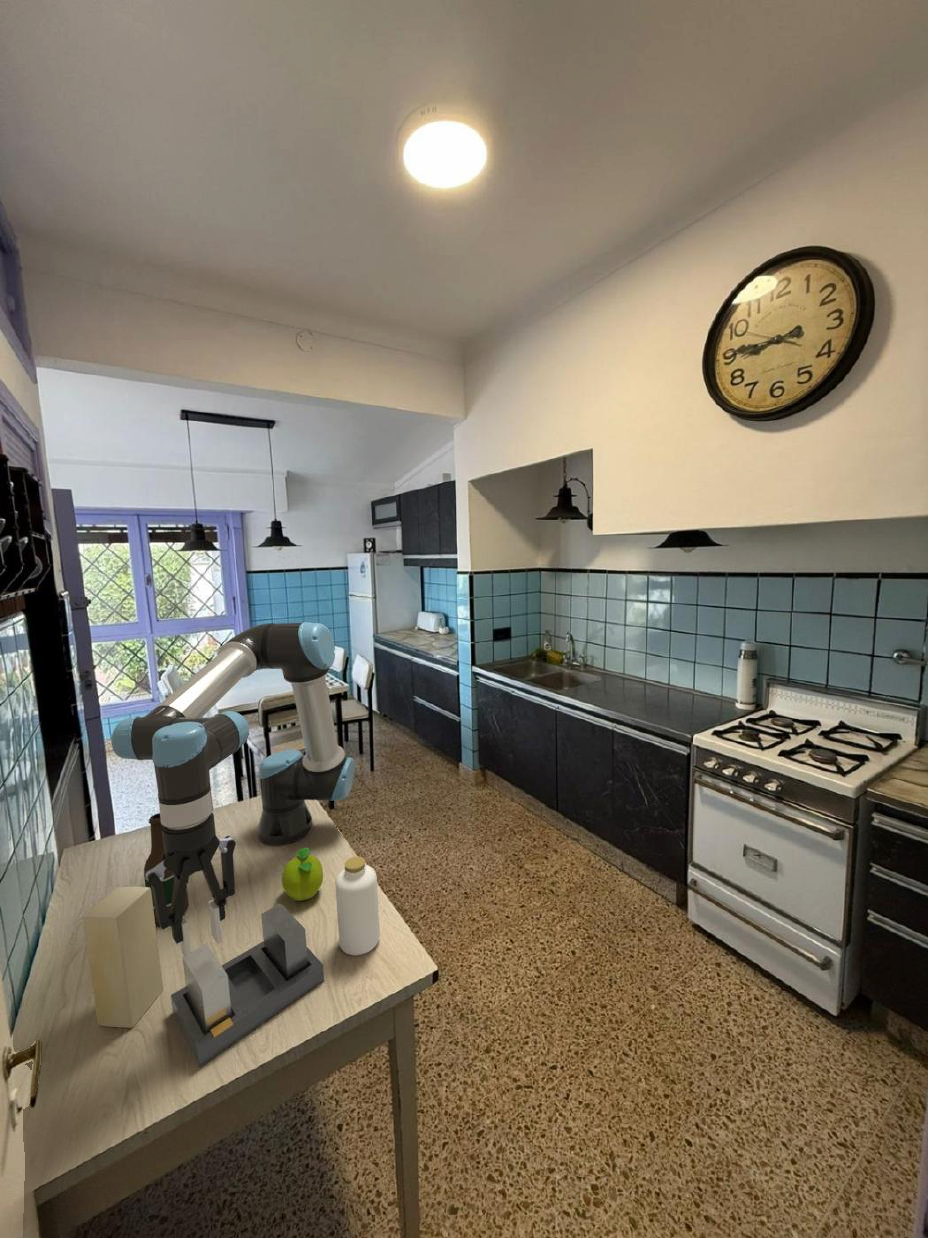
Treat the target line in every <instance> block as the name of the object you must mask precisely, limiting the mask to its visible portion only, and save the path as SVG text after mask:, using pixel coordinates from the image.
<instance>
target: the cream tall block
mask: <svg viewBox="0 0 928 1238" xmlns="http://www.w3.org/2000/svg"><path fill="white" fill-rule="evenodd" d="M82 925H83V929H84V936H85V944H86V950H87V957H88V964H89V969H90V970H89V971H90V978H91V983H92V984H91V985H92V986H91V987H92V990H93V991H92V992H93V999H94V1006H95V1012H96V1021H97V1025H98V1026H101V1027H107V1028H109V1027H110V1028H112V1027H113V1028H122V1029H123V1028H125V1029H126V1028H128V1029H132V1028H133V1027H135V1026H136V1025H137V1023H138V1022H139V1021H140V1020H141V1018H142V1017H143V1016H144V1014H145V1013H146V1012H147V1011H148V1010H149V1008H150V1007H151V1006H152V1005H153V1003H154V1002H155V1001H156V1000H157V998H158V997H159V996H160V995H161V994H162V992H163V990H164V985H163V976H162V968H161V961H160V954H159V945H158V944H159V943H158V936H157V935H158V934H157V929H156V927H157V926H156V925H155V919H154V911H153V902H152V894H151V889H150V888H149V887H145V886H128V885H127V886H116V888H114V889H113V890H112V891H111V892H110V893H108V894H107V895H105V897H104V898H102V899H101V900H100V901H99V902H97V904H95V905H94V906H92V907H91V908H90V909H89V910H88V911H87V912H85V913H84V914H83V915H82Z"/></svg>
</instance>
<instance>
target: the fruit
mask: <svg viewBox="0 0 928 1238" xmlns="http://www.w3.org/2000/svg"><path fill="white" fill-rule="evenodd" d="M281 875H282V876H281V885H282V888H283V890H284V892H285V894H287V895H288V896H289V897H290V898H291V899H293V900H295V901H298V902H300V901H301V902H302V901H306V900H309V899H311V898H313V897H314V896H315V895H316V893H317V892H318V891H319V889H321V886H322V885H323V879H324V871H323V865H322V863H321V861H320V859H318V858H317V857H316V856H314V855H311V854H310V848H309V847H303V848H300V849H298V850H297V856H296V857H294V858H293V859H291V860H289V861H288V862H287V863H286V864H285V865H284V868H283V870H282V874H281Z"/></svg>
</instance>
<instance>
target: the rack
mask: <svg viewBox="0 0 928 1238" xmlns="http://www.w3.org/2000/svg"><path fill="white" fill-rule="evenodd" d="M260 917H261V925H262V926H261V927H262V936H263V937H262V938H263V940H262V941H261V942H259V943H258V944H256V945H255V946H252V947H251V948H249V949H247V950H246V951H244V952H242V953H241V954H239V955H237V956H235V957H234V958H232V959H230V960H229V961H226V962H225V963H224V964H222V965H221V966H222V967H223V969H224V970H225V972H226V973H227V975H228V983H229V993H230V1003H231V1012H232V1018H230V1017H229V1018H228V1019H226V1020H225V1021H223V1022H222V1023H220V1024H219V1025H217V1026H216V1027H214V1028H213V1029H211V1032H209V1033H208V1034H206V1035H205V1036H204V1035H203V1033H202V1031H201V1029H200V1027H199V1025H198V1023H197V1021H196V1019H195V1017H194V1016H193V1014H192V1012H191V1010H190V1008H189V1006H188V1000H187V992H186V985H185V986H184V987H182V988H180V989H179V990H177V991H175V992H174V993H172V994H170V1000H171V1006H172V1010H171V1011H172V1013H173V1016H174V1017H175V1020H176V1022H177V1024H178V1027H179V1028H180V1030H181V1031H180V1032H181V1033H182V1035H183V1037H184V1038H185V1041H186V1044H187V1045H188V1048H189V1049H190V1052H191V1053H192V1055H193V1058H194V1060H195V1061H196V1064H197V1066H198V1068H200V1069H201V1068H202V1067H203V1066H205V1064H207V1063H209V1062H210V1061H212V1060H213V1059H215V1058H216V1057H218V1056H219V1055H220V1054H222V1053H223V1052H225V1051H226V1050H227V1049H229V1048H230V1047H232V1046H233V1045H235V1044H236V1043H238V1042H239V1041H240V1040H242V1039H244V1038H245V1037H246V1036H248V1035H249V1034H250V1033H252V1032H254V1030H256V1029H257V1028H259V1027H260V1026H262V1025H263V1024H265V1023H267V1021H269V1020H270V1019H271V1018H274V1017H275V1016H277V1014H279V1013H280V1012H282V1011H283V1010H285V1009H286V1008H288V1007H289V1006H291V1005H292V1004H293V1003H295V1002H296V1001H297V1000H299V999H300V998H301V997H304V995H306V994H308V993H309V992H311V991H312V990H313V989H314V988H316V987H317V986H319V985H320V984H322V983H324V982H325V975H324V974H325V973H324V964H323V963H322V962H321V960H319V958H318V957H317V956H316V955H315V953H313V952H312V951H311V950H310V949H309V947H308V946H307V933H306V928H305V926H303V925H302V924H301V923H300V922H299V921H298V920H297V918H295V916H294V915H293V914H292V913H291V912H290V911H289V910H288V909H287V908H286V907H285V906H284V905H283V904H282V903H279V904H277V905H275V906H274V907H271V908H269V909H268V910H266V911H264V912H262V913H261V916H260Z"/></svg>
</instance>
